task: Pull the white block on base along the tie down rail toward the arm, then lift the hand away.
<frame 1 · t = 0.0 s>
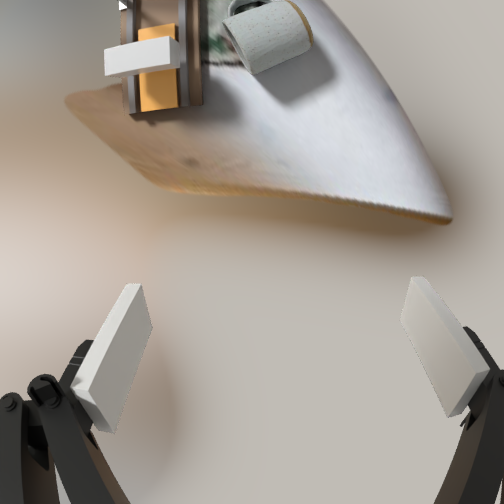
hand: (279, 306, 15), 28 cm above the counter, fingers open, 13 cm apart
keeper hook: (129, 4, 29), resting on tie down rail
white block on base: (148, 63, 28), point 6 cm above the counter, slide at 0.0 cm
tie down rail: (161, 43, 32), on the counter
ceramic mug: (260, 33, 32), on the counter
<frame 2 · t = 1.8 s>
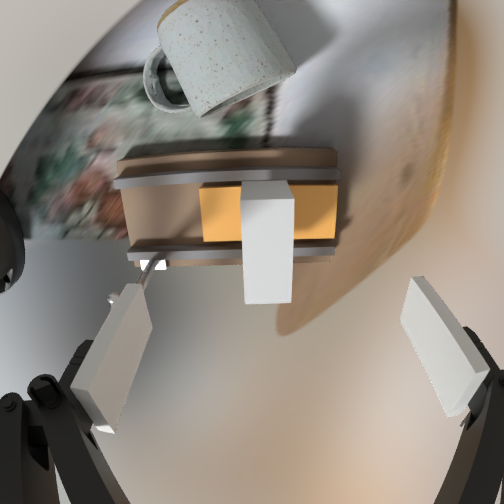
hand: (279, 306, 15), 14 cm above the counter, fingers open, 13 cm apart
keeper hook: (157, 253, 29), resting on tie down rail
white block on base: (272, 230, 22), point 6 cm above the counter, slide at 0.0 cm
tie down rail: (227, 205, 27), on the counter
ceramic mug: (213, 66, 22), on the counter
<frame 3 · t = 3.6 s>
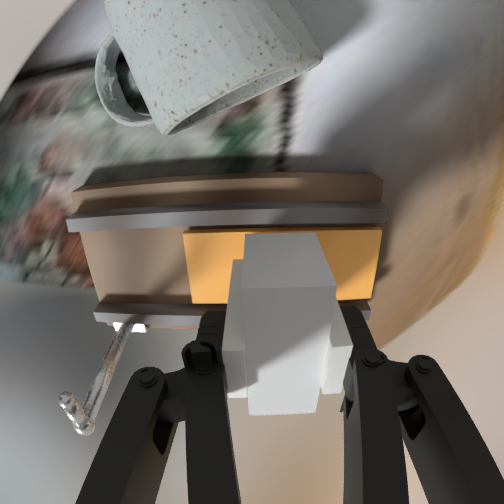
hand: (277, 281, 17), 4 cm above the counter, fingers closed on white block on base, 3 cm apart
keeper hook: (136, 307, 22), resting on tie down rail
white block on base: (290, 304, 15), point 6 cm above the counter, slide at 0.0 cm, touching gripper
tie down rail: (225, 252, 20), on the counter
ceramic mug: (195, 56, 15), on the counter
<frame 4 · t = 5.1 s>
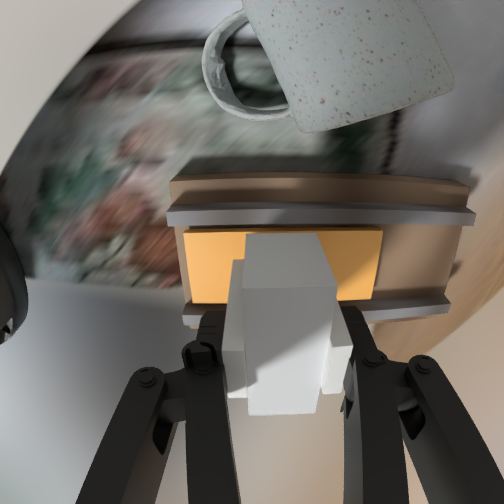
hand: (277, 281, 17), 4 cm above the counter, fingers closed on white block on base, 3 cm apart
white block on base: (290, 304, 15), point 6 cm above the counter, slide at 6.3 cm, touching gripper
tie down rail: (326, 250, 20), on the counter
ceramic mug: (305, 56, 15), on the counter
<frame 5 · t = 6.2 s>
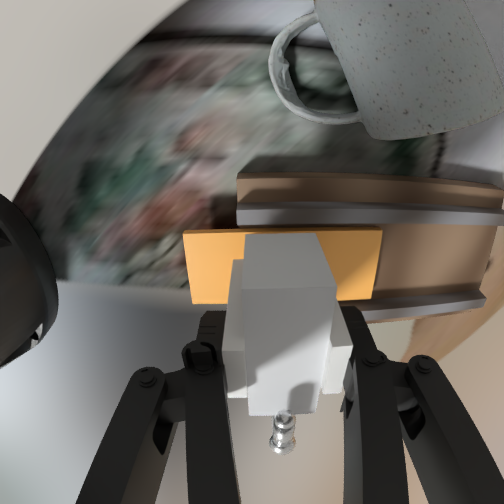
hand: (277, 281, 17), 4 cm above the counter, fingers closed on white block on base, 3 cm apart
keeper hook: (273, 308, 22), resting on tie down rail
white block on base: (290, 304, 15), point 6 cm above the counter, slide at 10.0 cm, touching gripper
tie down rail: (379, 249, 20), on the counter
ceramic mug: (362, 62, 15), on the counter
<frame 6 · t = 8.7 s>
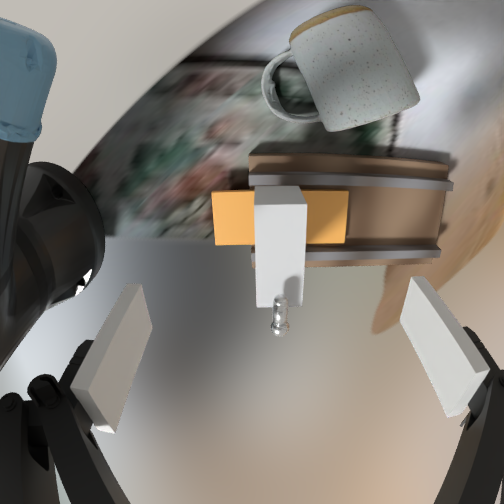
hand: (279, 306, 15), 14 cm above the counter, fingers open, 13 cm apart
keeper hook: (273, 254, 30), resting on tie down rail
white block on base: (284, 234, 23), point 6 cm above the counter, slide at 10.0 cm
tie down rail: (351, 209, 27), on the counter
ceramic mug: (326, 80, 23), on the counter
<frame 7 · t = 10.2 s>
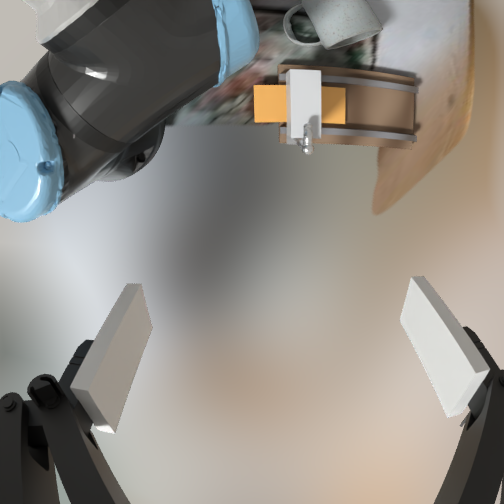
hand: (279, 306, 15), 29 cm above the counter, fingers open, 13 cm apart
keeper hook: (294, 137, 38), resting on tie down rail
white block on base: (305, 103, 31), point 6 cm above the counter, slide at 10.0 cm
tie down rail: (347, 106, 36), on the counter
ceramic mug: (324, 24, 31), on the counter
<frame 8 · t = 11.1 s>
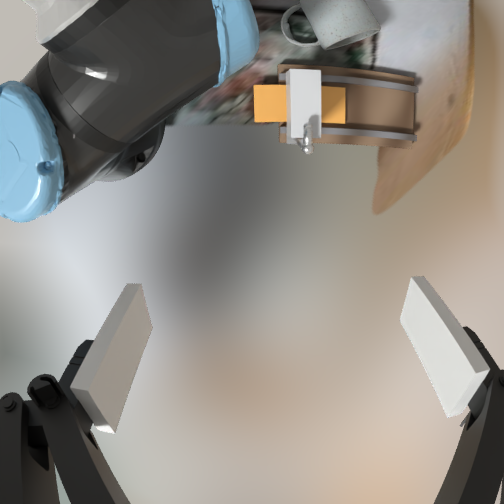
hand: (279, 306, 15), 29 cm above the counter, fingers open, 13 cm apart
keeper hook: (294, 136, 38), resting on tie down rail
white block on base: (305, 103, 31), point 6 cm above the counter, slide at 10.0 cm
tie down rail: (347, 105, 36), on the counter
ceramic mug: (322, 24, 31), on the counter
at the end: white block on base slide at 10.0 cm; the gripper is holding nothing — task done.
